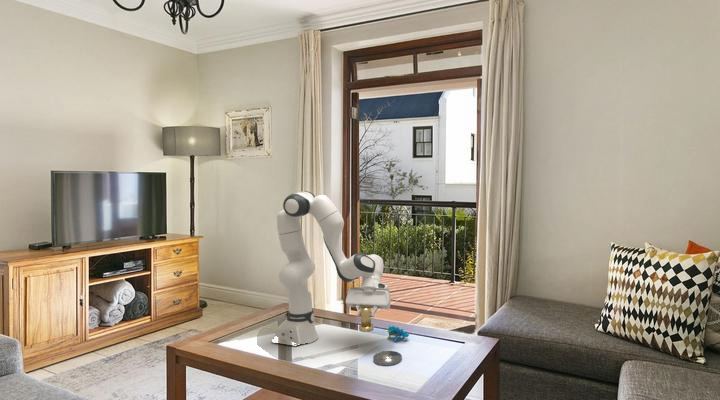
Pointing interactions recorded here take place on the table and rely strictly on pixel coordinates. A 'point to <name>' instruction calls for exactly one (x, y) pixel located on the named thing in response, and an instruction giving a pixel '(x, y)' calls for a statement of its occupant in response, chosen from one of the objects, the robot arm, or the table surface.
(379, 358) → the dark grey flat disc
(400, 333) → the teal coral
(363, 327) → the gold flanged cylinder
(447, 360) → the table surface
